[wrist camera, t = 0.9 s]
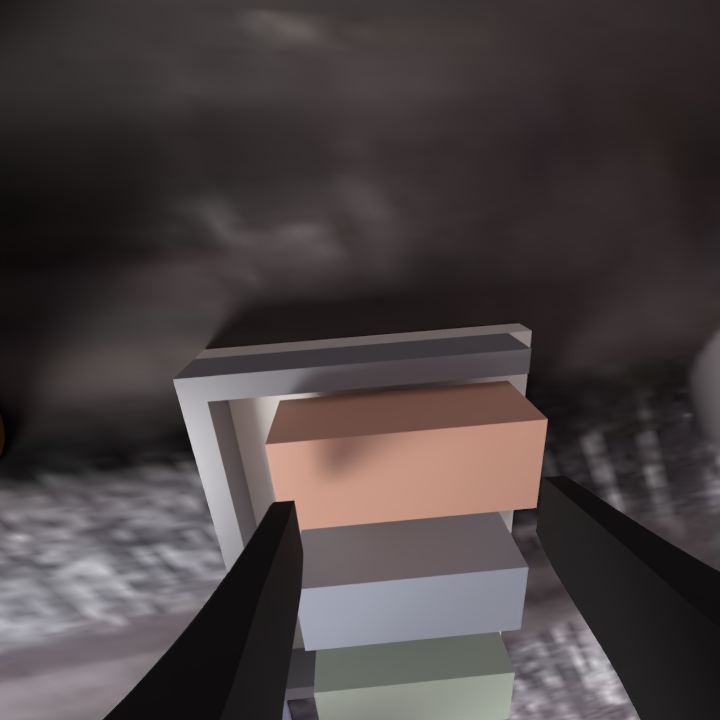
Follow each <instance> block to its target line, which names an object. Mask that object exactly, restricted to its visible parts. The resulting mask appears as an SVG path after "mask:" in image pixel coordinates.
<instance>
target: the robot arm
mask: <svg viewBox="0 0 720 720" xmlns="http://www.w3.org/2000/svg"><path fill="white" fill-rule="evenodd" d="M536 532H537V535H538V537H539V539H540V541H541V543H542V546H543V548H544V550H545V552H546V554H547V556H548V558H549V561H550V563H551V565H552V567H553V569H554V570H555V572H556V574H557V575H558V577H559V579H560V580H561V582H562V584H563V585H564V587H565V589H566V590H567V592H568V594H569V595H570V597H571V599H572V600H573V602H574V603H575V605H576V607H577V608H578V610H579V611H580V613H581V615H582V616H583V618H584V620H585V621H586V623H587V624H588V626H589V628H590V629H591V631H592V633H593V634H594V636H595V637H596V639H597V641H598V642H599V644H600V646H601V647H602V649H603V650H604V652H605V654H606V655H607V657H608V659H609V661H610V662H611V664H612V666H613V668H614V669H615V671H616V673H617V675H618V676H619V678H620V680H621V682H622V684H623V686H624V688H625V690H626V692H627V694H628V696H629V698H630V700H631V702H632V703H633V705H634V707H635V709H636V711H637V713H638V715H639V717H640V719H641V720H720V572H719V571H717V570H715V569H714V568H712V567H710V566H708V565H706V564H705V563H703V562H701V561H699V560H698V559H696V558H694V557H692V556H691V555H689V554H687V553H686V552H684V551H682V550H681V549H679V548H677V547H676V546H674V545H672V544H670V543H669V542H667V541H665V540H664V539H662V538H661V537H659V536H657V535H656V534H654V533H652V532H651V531H649V530H648V529H646V528H645V527H643V526H641V525H640V524H638V523H637V522H635V521H634V520H632V519H630V518H629V517H627V516H626V515H624V514H623V513H621V512H620V511H618V510H617V509H615V508H614V507H612V506H611V505H609V504H607V503H606V502H604V501H603V500H601V499H600V498H598V497H597V496H595V495H594V494H592V493H591V492H589V491H588V490H586V489H585V488H583V487H582V486H580V485H579V484H577V483H575V482H574V481H572V480H571V479H569V478H567V477H566V476H556V477H545V478H543V485H542V492H541V500H540V507H539V514H538V522H537V529H536ZM303 555H304V553H303V547H302V541H301V535H300V530H299V524H298V518H297V512H296V507H295V501H294V500H292V501H281V502H273V503H272V504H271V505H270V506H269V508H268V510H267V512H266V513H265V515H264V517H263V519H262V520H261V522H260V524H259V525H258V527H257V529H256V530H255V532H254V534H253V535H252V537H251V539H250V540H249V542H248V543H247V545H246V546H245V548H244V550H243V551H242V553H241V554H240V556H239V557H238V559H237V560H236V562H235V563H234V565H233V566H232V568H231V569H230V571H229V572H228V574H227V575H226V576H225V578H224V579H223V581H222V582H221V583H220V585H219V586H218V587H217V589H216V590H215V592H214V593H213V594H212V596H211V597H210V599H209V600H208V601H207V603H206V604H205V605H204V607H203V608H202V609H201V610H200V612H199V613H198V614H197V616H196V617H195V618H194V619H193V621H192V622H191V623H190V624H189V626H188V627H187V628H186V629H185V631H184V632H183V633H182V634H181V635H180V637H179V638H178V639H177V640H176V641H175V643H174V644H173V645H172V646H171V647H170V648H169V650H168V651H167V652H166V653H165V654H164V655H163V656H162V657H161V659H160V660H159V661H158V662H157V663H156V664H155V665H154V666H153V668H152V669H151V670H150V671H149V672H148V673H147V674H146V675H145V677H144V678H143V679H142V680H141V681H140V682H139V683H138V684H137V685H136V686H135V687H134V688H133V690H132V691H131V692H130V693H129V694H128V695H127V696H126V697H125V698H124V699H123V700H122V701H121V702H120V703H119V704H118V705H117V706H116V707H115V708H114V709H113V710H112V711H111V712H110V713H109V714H108V715H107V716H106V717H105V718H104V719H103V720H292V719H291V715H290V711H289V707H288V703H287V700H285V692H286V685H287V679H288V673H289V666H290V660H291V654H292V648H293V642H294V636H295V629H296V623H297V617H298V610H299V604H300V598H301V590H302V574H303ZM284 700H285V701H284Z"/></svg>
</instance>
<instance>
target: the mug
mask: <svg viewBox="0 0 720 720" xmlns="http://www.w3.org/2000/svg"><path fill="white" fill-rule="evenodd" d="M4 443H5V429H4V423H3V420H2V416H1V414H0V456H1V454H2V451H3V447H4Z"/></svg>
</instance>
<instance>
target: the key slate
mask: <svg viewBox="0 0 720 720" xmlns="http://www.w3.org/2000/svg"><path fill="white" fill-rule="evenodd" d="M301 541H302V547H303V553H304V555H303V574H302V590H301V598H300V604H299V610H298V615H299V620H300V626H301V631H302V636H303V641H304V646H305V651H311V650H321V649H331V648H341V647H351V646H361V645H371V644H381V643H391V642H401V641H411V640H421V639H431V638H441V637H450V636H460V635H470V634H480V633H490V632H500V631H510V630H520V629H521V621H522V614H523V606H524V598H525V591H526V583H527V575H528V568H529V567H528V565H527V563H526V561H525V560H524V558H523V556H522V554H521V552H520V550H519V548H518V547H517V545H516V543H515V541H514V539H513V537H512V535H511V534H510V532H509V530H508V528H507V526H506V524H505V522H504V521H503V519H502V517H501V515H500V513H499V511H497V512H486V513H476V514H465V515H455V516H444V517H433V518H423V519H412V520H401V521H391V522H380V523H369V524H359V525H348V526H337V527H327V528H316V529H306V530H301Z"/></svg>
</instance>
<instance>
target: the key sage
mask: <svg viewBox="0 0 720 720" xmlns="http://www.w3.org/2000/svg"><path fill="white" fill-rule="evenodd" d="M514 675H515V672H514V669H513V666H512V664H511V661H510V659H509V656H508V653H507V651H506V648H505V646H504V643H503V640H502V638H501V635H500V633H499V632H490V633H480V634H470V635H460V636H450V637H441V638H431V639H421V640H411V641H401V642H391V643H381V644H371V645H361V646H351V647H341V648H331V649H321V650H316V663H315V680H314V697H315V702H316V707H317V712H318V717H319V720H502V719H509V713H510V705H511V698H512V690H513V683H514Z"/></svg>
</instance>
